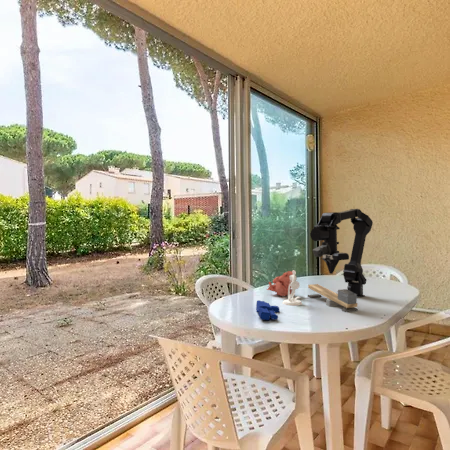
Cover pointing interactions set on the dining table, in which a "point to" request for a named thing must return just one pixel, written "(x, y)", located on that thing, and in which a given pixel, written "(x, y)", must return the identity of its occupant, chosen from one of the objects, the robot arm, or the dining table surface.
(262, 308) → the toy gun
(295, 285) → the figurine
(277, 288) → the anatomical model
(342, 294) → the block
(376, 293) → the dining table surface
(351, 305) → the beam
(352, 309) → the stand
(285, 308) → the dining table surface
